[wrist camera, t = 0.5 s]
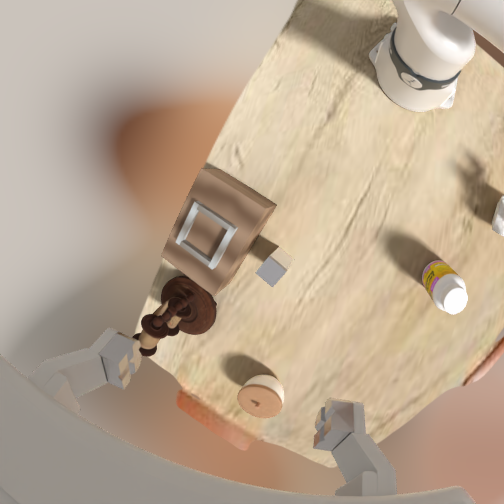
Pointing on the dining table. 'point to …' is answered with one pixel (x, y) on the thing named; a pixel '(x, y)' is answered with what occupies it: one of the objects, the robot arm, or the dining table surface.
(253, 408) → the lidded jar
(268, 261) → the grey white rectangular block
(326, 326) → the dining table surface
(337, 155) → the dining table surface
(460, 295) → the supplement bottle
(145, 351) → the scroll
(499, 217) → the figurine
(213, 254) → the block
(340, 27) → the dining table surface
